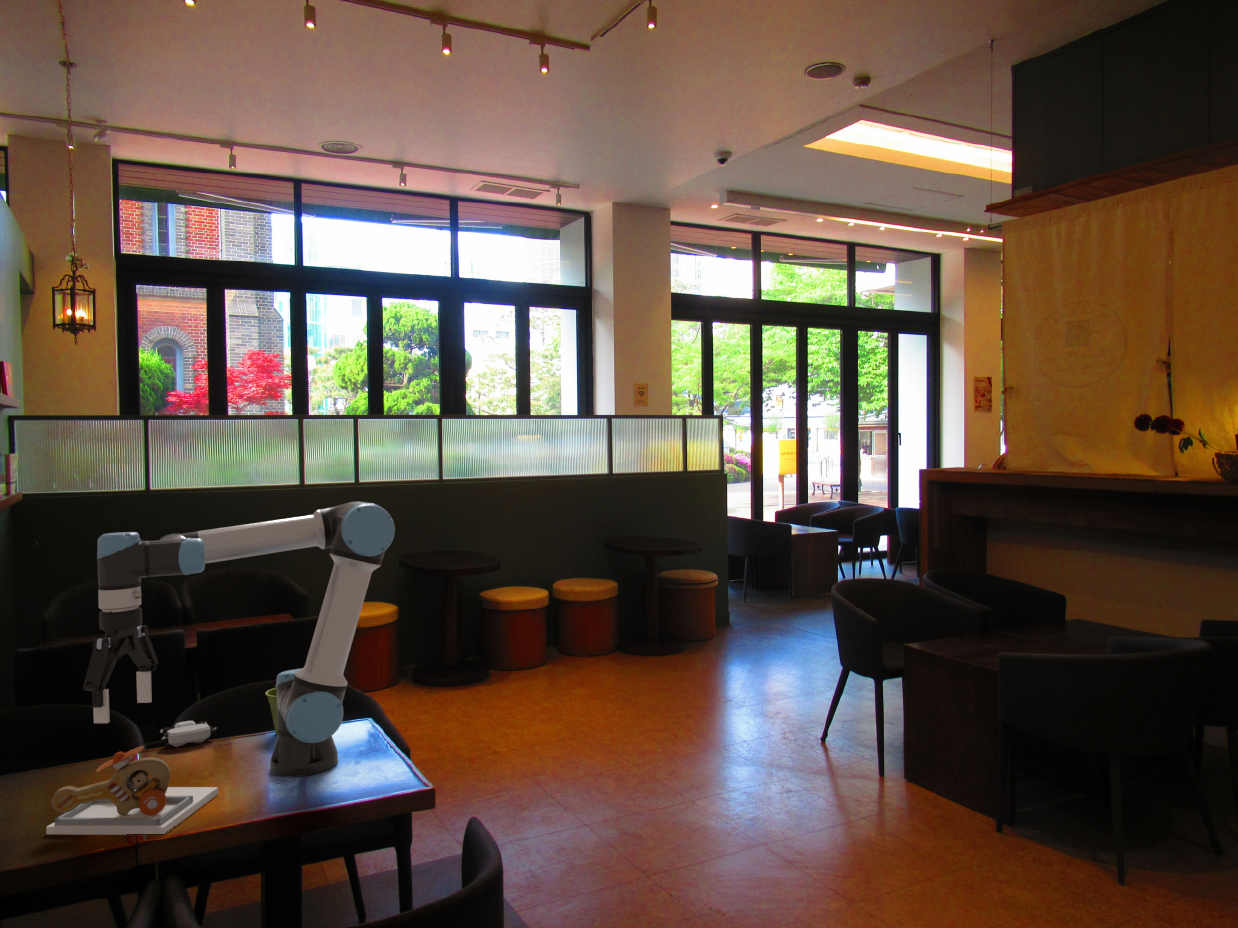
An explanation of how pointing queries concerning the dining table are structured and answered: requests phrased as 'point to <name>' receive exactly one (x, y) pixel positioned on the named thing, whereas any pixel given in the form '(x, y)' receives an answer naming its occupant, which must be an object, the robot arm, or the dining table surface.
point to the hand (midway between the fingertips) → (124, 712)
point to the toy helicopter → (122, 786)
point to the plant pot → (273, 705)
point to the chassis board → (132, 815)
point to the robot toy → (187, 733)
